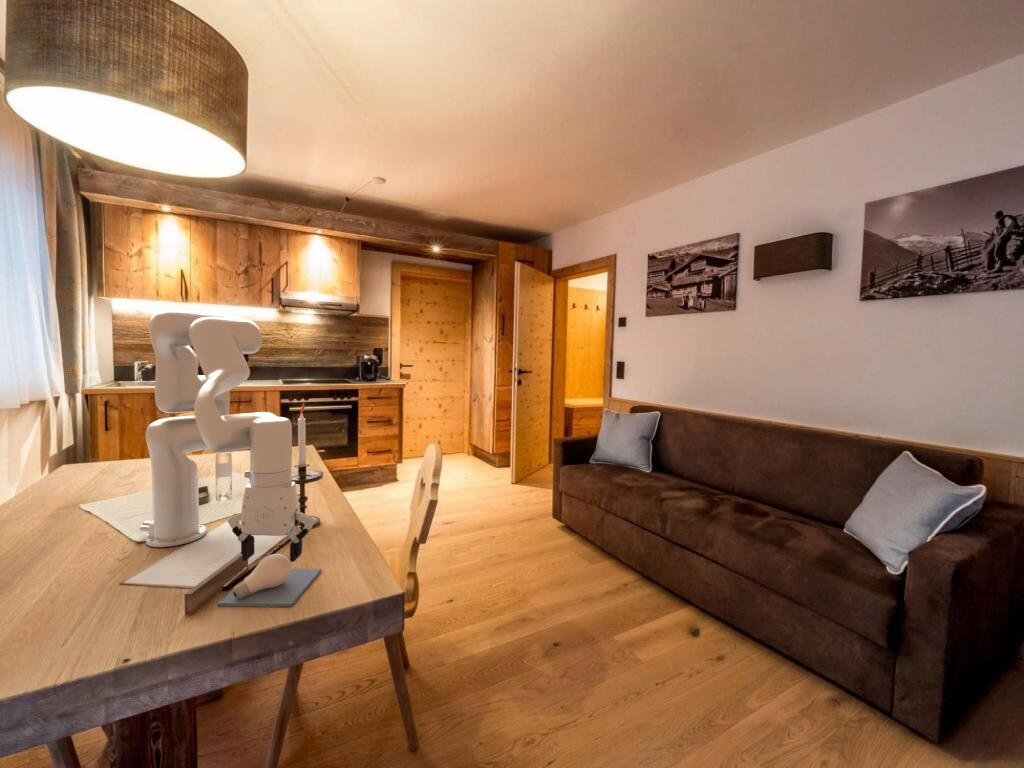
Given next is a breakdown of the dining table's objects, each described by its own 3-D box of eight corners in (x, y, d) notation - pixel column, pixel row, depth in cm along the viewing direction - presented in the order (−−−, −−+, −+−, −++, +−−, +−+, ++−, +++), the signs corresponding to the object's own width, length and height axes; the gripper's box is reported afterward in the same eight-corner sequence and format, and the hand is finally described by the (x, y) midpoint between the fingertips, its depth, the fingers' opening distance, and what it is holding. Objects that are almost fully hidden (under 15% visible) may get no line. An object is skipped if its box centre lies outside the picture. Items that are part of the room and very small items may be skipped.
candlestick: (312, 515, 133) (311, 399, 131) (330, 524, 127) (329, 402, 124) (274, 525, 125) (272, 402, 123) (291, 535, 118) (290, 405, 116)
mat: (217, 606, 85) (217, 603, 85) (258, 570, 99) (258, 568, 99) (290, 606, 85) (290, 603, 85) (321, 571, 99) (321, 568, 99)
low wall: (184, 614, 82) (184, 594, 82) (242, 568, 100) (242, 551, 100) (191, 615, 82) (190, 594, 82) (248, 568, 100) (247, 551, 100)
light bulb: (232, 583, 83) (289, 548, 91) (221, 577, 87) (276, 545, 96) (246, 613, 84) (301, 576, 92) (235, 606, 88) (288, 572, 96)
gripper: (217, 481, 87) (218, 565, 88) (305, 484, 87) (305, 568, 88) (240, 471, 94) (240, 549, 95) (321, 473, 94) (321, 551, 96)
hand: (271, 558), depth 92 cm, fingers open, 9 cm apart
